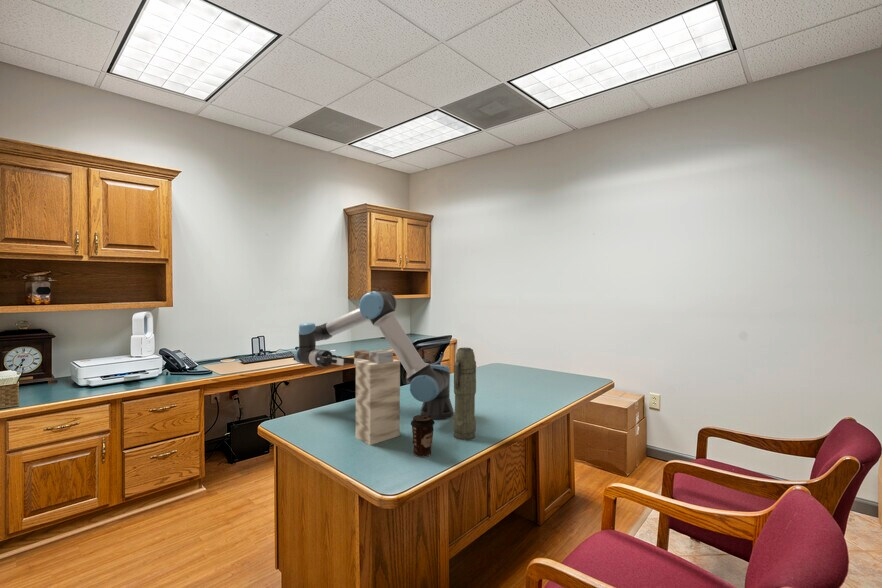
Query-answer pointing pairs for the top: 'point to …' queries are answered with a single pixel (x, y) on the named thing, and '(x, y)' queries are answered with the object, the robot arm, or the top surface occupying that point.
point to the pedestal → (377, 401)
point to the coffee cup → (422, 434)
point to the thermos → (464, 394)
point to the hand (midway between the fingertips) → (354, 362)
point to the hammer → (375, 356)
